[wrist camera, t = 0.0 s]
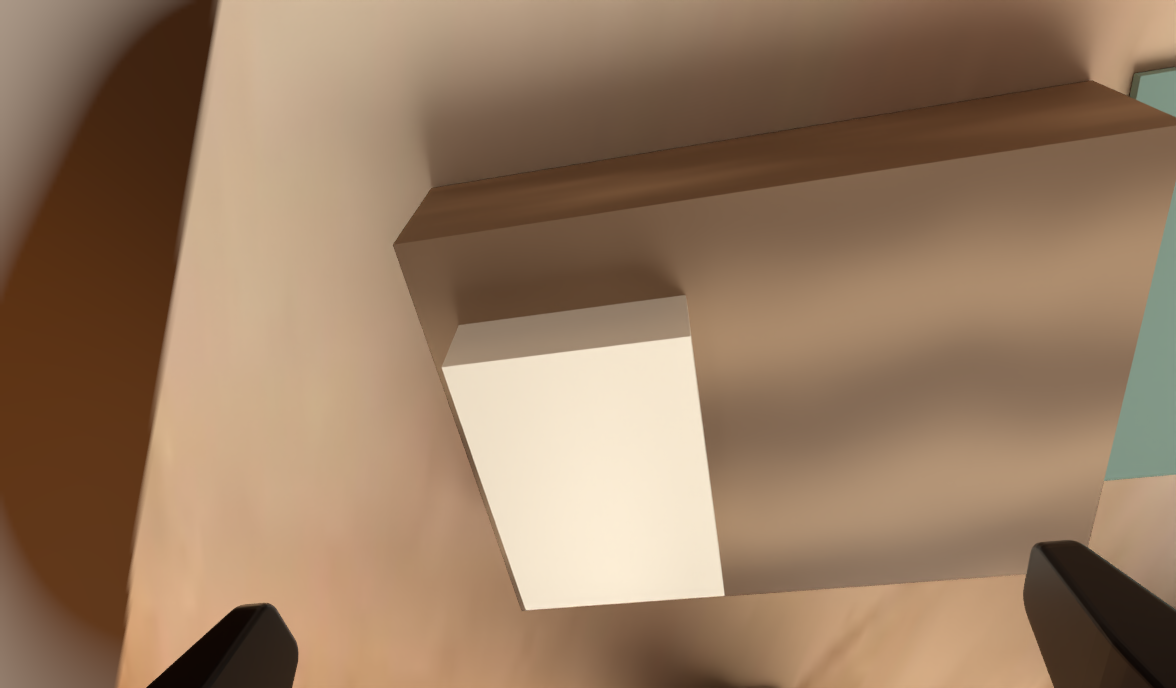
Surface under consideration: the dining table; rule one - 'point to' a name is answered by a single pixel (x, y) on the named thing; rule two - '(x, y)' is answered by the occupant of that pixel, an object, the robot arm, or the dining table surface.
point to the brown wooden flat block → (856, 317)
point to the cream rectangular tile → (591, 451)
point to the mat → (1152, 339)
